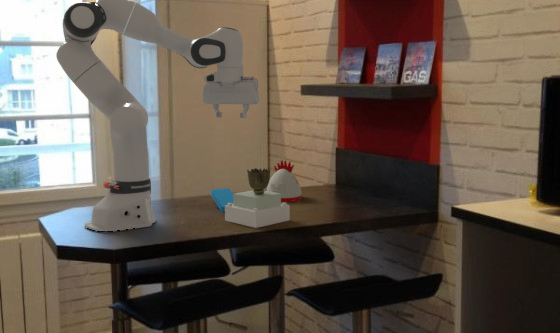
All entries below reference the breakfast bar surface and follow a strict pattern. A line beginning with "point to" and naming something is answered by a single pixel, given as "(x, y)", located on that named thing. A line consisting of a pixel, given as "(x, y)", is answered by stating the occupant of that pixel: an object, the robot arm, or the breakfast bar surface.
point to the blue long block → (222, 197)
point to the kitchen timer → (285, 183)
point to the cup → (258, 180)
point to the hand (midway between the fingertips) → (231, 117)
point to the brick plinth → (257, 209)
